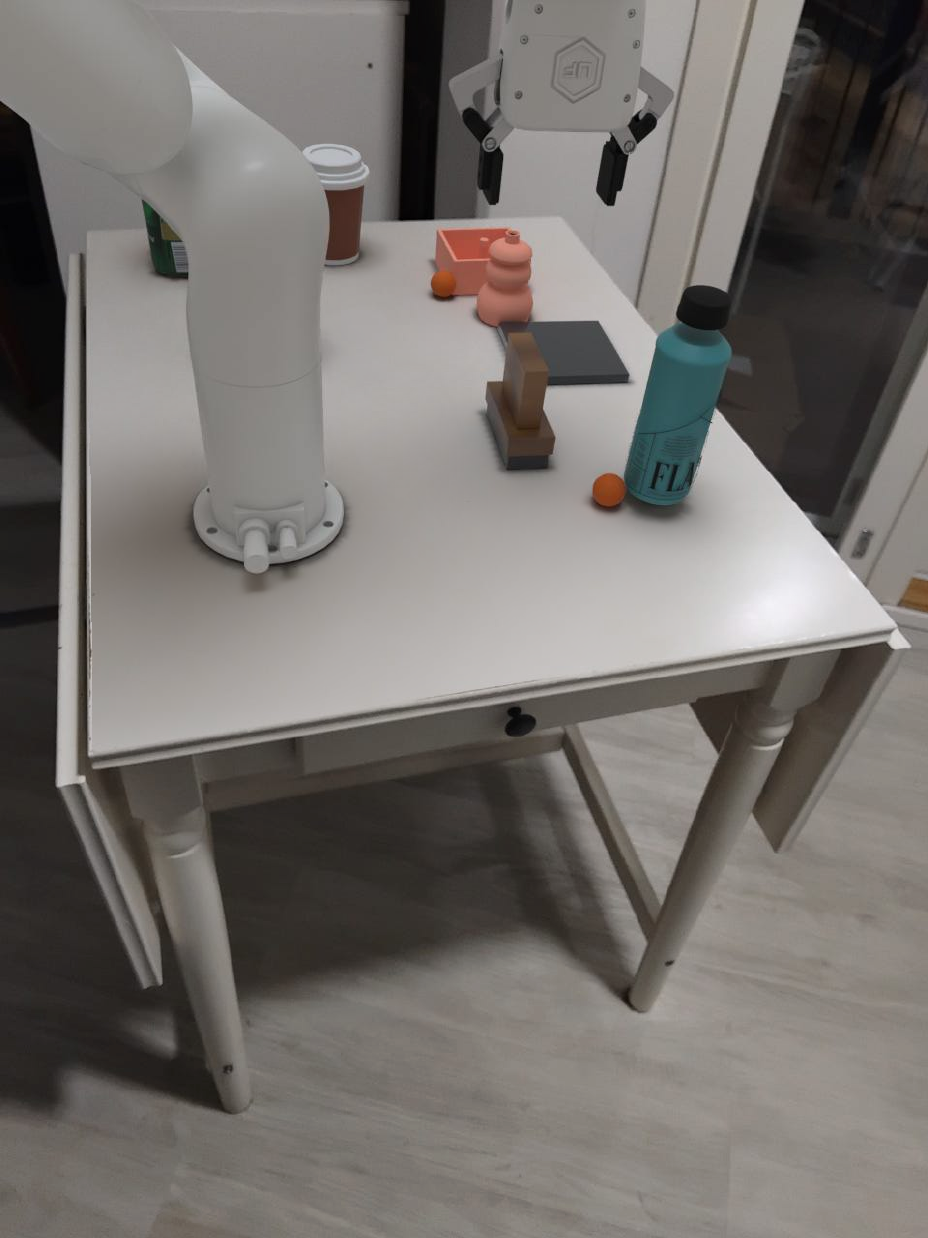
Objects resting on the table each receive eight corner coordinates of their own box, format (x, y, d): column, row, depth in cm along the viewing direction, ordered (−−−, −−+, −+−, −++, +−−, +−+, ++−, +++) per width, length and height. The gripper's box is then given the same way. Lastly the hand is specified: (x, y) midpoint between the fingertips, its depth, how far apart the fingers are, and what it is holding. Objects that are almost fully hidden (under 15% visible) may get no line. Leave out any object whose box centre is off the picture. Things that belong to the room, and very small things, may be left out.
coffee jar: (151, 244, 117) (125, 78, 104) (217, 244, 119) (200, 79, 106) (150, 280, 110) (123, 107, 97) (220, 279, 112) (202, 108, 99)
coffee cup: (307, 273, 115) (303, 170, 106) (288, 241, 121) (283, 142, 112) (378, 266, 118) (380, 165, 109) (356, 236, 123) (356, 138, 115)
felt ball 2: (600, 517, 87) (632, 506, 86) (592, 497, 84) (624, 486, 83) (594, 492, 88) (625, 481, 88) (585, 473, 86) (617, 461, 85)
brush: (550, 468, 90) (566, 379, 83) (504, 471, 89) (516, 381, 82) (526, 410, 97) (539, 324, 90) (483, 412, 96) (493, 324, 89)
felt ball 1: (435, 300, 115) (458, 299, 113) (426, 293, 112) (449, 292, 111) (437, 274, 114) (460, 273, 113) (427, 267, 111) (451, 266, 110)
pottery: (435, 261, 120) (439, 181, 113) (506, 259, 122) (515, 180, 115) (470, 331, 108) (478, 246, 101) (549, 327, 110) (561, 244, 103)
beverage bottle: (634, 523, 85) (689, 315, 71) (607, 479, 89) (654, 276, 75) (699, 515, 87) (765, 311, 73) (669, 473, 91) (726, 272, 77)
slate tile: (627, 382, 103) (629, 374, 102) (520, 385, 100) (522, 377, 100) (596, 328, 111) (598, 320, 110) (497, 329, 109) (498, 321, 108)
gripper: (470, -53, 60) (451, 217, 72) (721, -38, 64) (663, 218, 76) (449, -76, 65) (435, 180, 78) (683, -61, 69) (634, 182, 81)
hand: (548, 198), depth 77 cm, fingers open, 9 cm apart
